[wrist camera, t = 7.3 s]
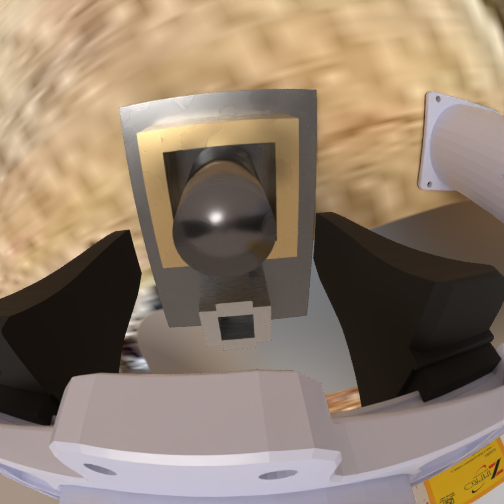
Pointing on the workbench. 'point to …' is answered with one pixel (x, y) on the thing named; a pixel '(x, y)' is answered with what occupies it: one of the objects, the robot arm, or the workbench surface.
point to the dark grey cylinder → (224, 215)
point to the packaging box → (465, 478)
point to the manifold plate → (275, 187)
